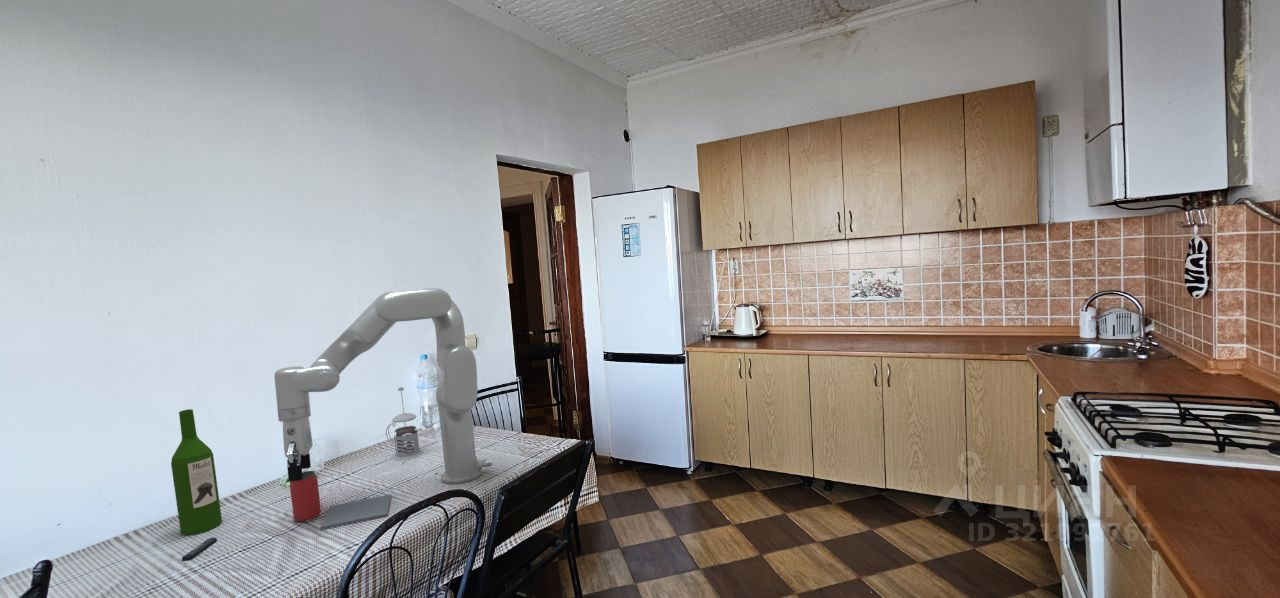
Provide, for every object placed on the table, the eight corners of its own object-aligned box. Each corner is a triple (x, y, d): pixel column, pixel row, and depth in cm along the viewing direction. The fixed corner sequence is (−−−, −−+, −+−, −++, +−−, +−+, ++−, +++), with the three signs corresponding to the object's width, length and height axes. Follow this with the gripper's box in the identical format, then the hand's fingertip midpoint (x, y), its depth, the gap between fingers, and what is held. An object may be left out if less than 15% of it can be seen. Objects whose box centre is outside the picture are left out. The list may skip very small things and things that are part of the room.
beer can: (308, 523, 150) (303, 479, 150) (288, 522, 152) (282, 479, 151) (327, 512, 157) (322, 470, 156) (307, 511, 158) (301, 470, 157)
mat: (391, 496, 164) (391, 494, 164) (387, 516, 151) (387, 513, 151) (330, 508, 159) (329, 506, 159) (320, 530, 146) (320, 527, 146)
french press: (416, 459, 196) (408, 389, 194) (383, 461, 196) (375, 391, 194) (427, 449, 205) (420, 382, 203) (395, 452, 206) (388, 385, 204)
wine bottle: (194, 537, 147) (178, 416, 145) (173, 533, 150) (156, 415, 148) (229, 521, 155) (214, 406, 153) (208, 518, 159) (193, 405, 156)
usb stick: (208, 542, 144) (207, 537, 144) (218, 541, 144) (218, 536, 144) (180, 562, 135) (179, 556, 135) (192, 561, 135) (191, 555, 135)
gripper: (303, 418, 145) (308, 482, 146) (316, 404, 161) (321, 462, 162) (269, 422, 143) (275, 488, 144) (286, 407, 159) (292, 466, 160)
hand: (300, 474), depth 153 cm, fingers open, 9 cm apart
